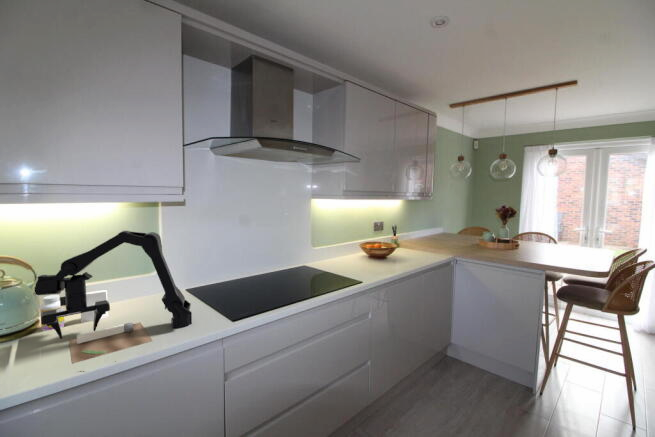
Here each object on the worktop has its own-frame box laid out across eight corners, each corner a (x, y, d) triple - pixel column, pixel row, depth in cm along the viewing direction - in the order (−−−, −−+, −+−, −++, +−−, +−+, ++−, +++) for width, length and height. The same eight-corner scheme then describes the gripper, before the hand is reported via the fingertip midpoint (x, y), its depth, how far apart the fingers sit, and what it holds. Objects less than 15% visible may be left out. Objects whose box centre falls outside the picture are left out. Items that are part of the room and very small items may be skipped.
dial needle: (132, 328, 117) (132, 321, 117) (134, 331, 115) (133, 323, 114) (77, 342, 106) (76, 334, 105) (77, 345, 103) (77, 337, 103)
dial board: (140, 325, 123) (140, 321, 122) (153, 344, 108) (152, 340, 108) (69, 343, 108) (68, 338, 108) (72, 368, 93) (72, 363, 93)
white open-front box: (80, 326, 121) (78, 297, 120) (82, 318, 128) (81, 291, 127) (107, 321, 126) (106, 293, 125) (108, 314, 133) (107, 287, 132)
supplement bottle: (39, 329, 118) (37, 297, 117) (61, 323, 124) (59, 292, 123) (44, 334, 114) (42, 300, 113) (67, 327, 120) (65, 296, 119)
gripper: (105, 282, 120) (106, 320, 122) (40, 292, 108) (43, 334, 109) (109, 289, 112) (111, 329, 113) (39, 300, 99) (42, 346, 101)
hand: (78, 334), depth 109 cm, fingers open, 9 cm apart
